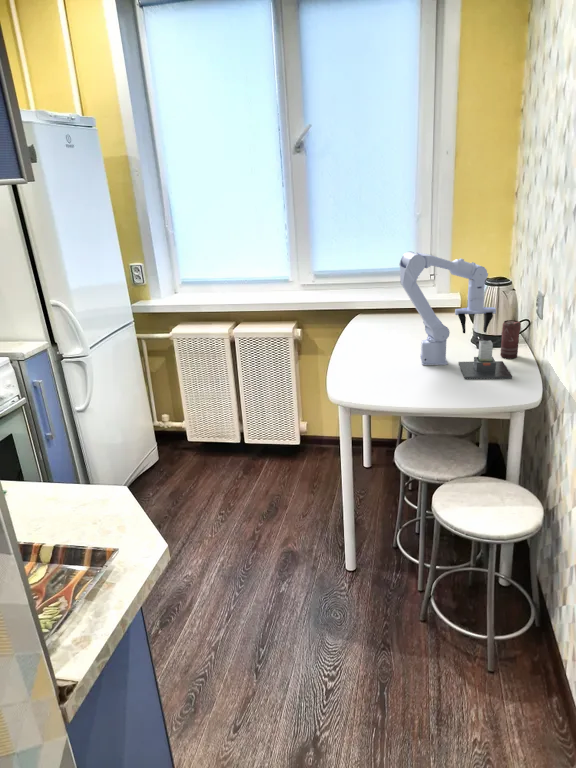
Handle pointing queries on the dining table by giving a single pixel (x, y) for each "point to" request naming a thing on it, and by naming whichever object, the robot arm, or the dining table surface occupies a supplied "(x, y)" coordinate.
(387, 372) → the dining table surface
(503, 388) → the dining table surface
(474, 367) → the stand
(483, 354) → the column
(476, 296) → the robot arm
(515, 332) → the can
